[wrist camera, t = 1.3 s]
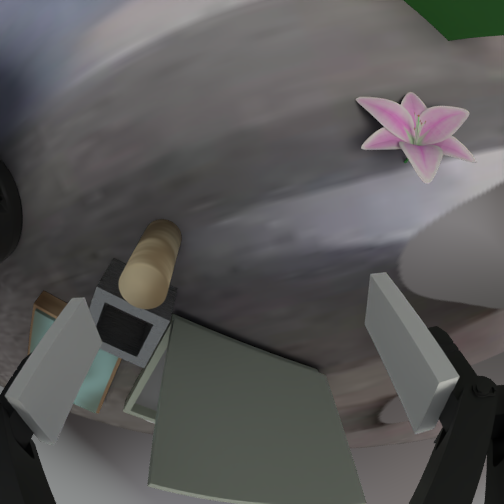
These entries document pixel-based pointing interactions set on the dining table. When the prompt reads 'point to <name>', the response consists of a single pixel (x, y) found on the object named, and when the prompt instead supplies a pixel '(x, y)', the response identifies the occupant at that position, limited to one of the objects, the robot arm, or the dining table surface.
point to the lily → (417, 132)
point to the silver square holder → (128, 319)
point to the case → (241, 423)
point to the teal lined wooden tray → (101, 367)
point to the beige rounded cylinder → (151, 265)
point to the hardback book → (462, 17)
